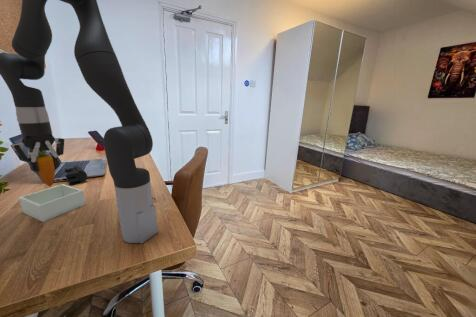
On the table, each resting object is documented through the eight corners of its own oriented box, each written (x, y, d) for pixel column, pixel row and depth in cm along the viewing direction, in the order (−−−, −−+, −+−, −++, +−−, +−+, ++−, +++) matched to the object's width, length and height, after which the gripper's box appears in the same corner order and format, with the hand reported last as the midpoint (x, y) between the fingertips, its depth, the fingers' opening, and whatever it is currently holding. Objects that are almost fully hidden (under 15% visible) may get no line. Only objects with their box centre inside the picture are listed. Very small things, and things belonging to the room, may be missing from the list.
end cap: (88, 182, 102) (86, 169, 100) (70, 186, 97) (67, 172, 95) (83, 176, 109) (81, 164, 107) (66, 180, 104) (63, 167, 102)
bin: (85, 204, 81) (82, 190, 80) (43, 222, 70) (38, 206, 68) (65, 197, 87) (62, 183, 85) (23, 212, 75) (18, 197, 73)
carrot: (48, 189, 73) (37, 147, 69) (37, 188, 74) (25, 146, 70) (62, 184, 77) (53, 144, 73) (51, 182, 78) (42, 143, 74)
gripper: (9, 123, 61) (25, 178, 66) (65, 119, 74) (75, 165, 79) (-2, 122, 64) (13, 174, 69) (53, 118, 77) (63, 162, 82)
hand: (46, 169), depth 74 cm, fingers closed on carrot, 5 cm apart
